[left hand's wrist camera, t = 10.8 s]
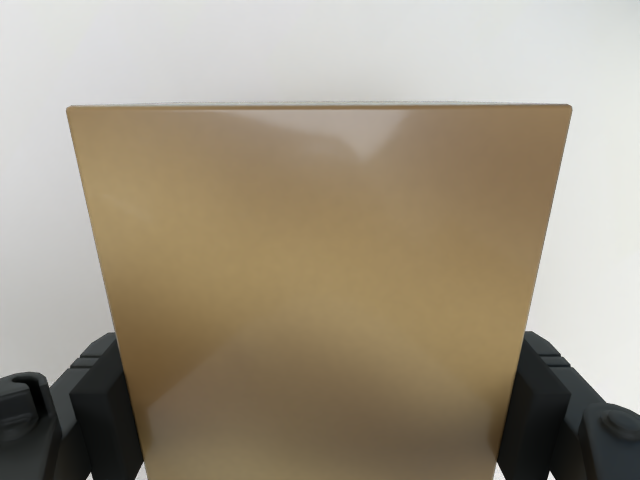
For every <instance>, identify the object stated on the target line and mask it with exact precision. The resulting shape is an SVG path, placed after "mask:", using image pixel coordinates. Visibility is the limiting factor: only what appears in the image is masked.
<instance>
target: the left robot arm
mask: <svg viewBox="0 0 640 480" xmlns="http://www.w3.org/2000/svg"><path fill="white" fill-rule="evenodd" d="M143 461H144V460H143V455H142V451H141V446H140V442H139V437H138V433H137V428H136V424H135V419H134V415H133V410H132V406H131V401H130V397H129V392H128V388H127V383H126V379H125V374H124V370H123V366H122V361H121V357H120V352H119V348H118V343H117V339H116V334H115V333H107V334H106V335H104V336H102V337H101V338H99V339H98V340H96V341H94V342H93V343H91V344H90V345H89V347H88V348H87V349H86V350H85V351H84V352H83V353H82V354H81V355H80V358H77V359H76V360H75V361H74V363H73V364H72V365H71V366H70V369H67V370H66V371H65V372H64V373H63V374H62V375H61V376H60V377H59V379H58V380H57V381H56V382H55V383H54V384H53V385H52V386H51V387H50V388H49V386H48V383H47V379H46V377H45V376H43V375H42V374H40V373H35V372H24V373H17V374H13V375H9V376H6V377H3V378H0V480H86V479H87V477H88V475H89V474H90V472H91V474H92V477H93V480H135V478H136V476H137V474H138V472H139V470H140V468H141V465H142V463H143ZM497 463H498V465H499V467H500V469H501V471H502V473H503V475H504V477H505V479H506V480H547V478H548V475H549V471H551V473H552V475H553V476H554V478H555V479H556V480H640V415H638V414H636V413H635V412H633V411H631V410H629V409H626V408H624V407H621V406H618V405H615V404H610V403H606V402H605V401H604V400H603V399H602V398H601V397H600V395H599V394H598V393H597V392H596V391H595V390H594V389H593V388H592V387H591V386H590V385H589V384H588V383H587V382H586V381H585V380H584V378H583V377H582V376H581V375H580V374H579V373H578V372H577V371H576V370H575V369H574V368H573V367H571V366H570V364H569V363H568V362H567V360H566V359H565V358H564V357H561V354H560V353H559V352H558V351H557V350H556V349H555V348H554V347H553V346H552V345H551V344H550V342H548V341H547V340H545V339H543V338H542V337H540V336H539V335H537V334H535V333H534V332H532V331H525V333H524V338H523V342H522V347H521V352H520V356H519V361H518V365H517V370H516V375H515V379H514V384H513V389H512V393H511V398H510V403H509V407H508V412H507V417H506V421H505V426H504V431H503V435H502V440H501V444H500V449H499V454H498V458H497Z"/></svg>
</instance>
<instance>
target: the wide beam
mask: <svg viewBox="0 0 640 480" xmlns="http://www.w3.org/2000/svg"><path fill="white" fill-rule="evenodd" d="M66 114H67V118H68V123H69V127H70V132H71V136H72V141H73V145H74V150H75V154H76V159H77V163H78V168H79V172H80V177H81V181H82V186H83V190H84V195H85V199H86V204H87V208H88V213H89V217H90V222H91V226H92V231H93V235H94V240H95V244H96V249H97V253H98V258H99V262H100V267H101V271H102V276H103V280H104V285H105V289H106V294H107V298H108V303H109V307H110V312H111V316H112V321H113V325H114V330H115V334H116V339H117V343H118V348H119V352H120V357H121V361H122V366H123V370H124V374H125V379H126V383H127V388H128V392H129V397H130V401H131V406H132V410H133V415H134V419H135V424H136V428H137V433H138V437H139V442H140V446H141V451H142V455H143V460H144V464H145V469H146V473H147V478H148V480H493V477H494V472H495V468H496V463H497V458H498V454H499V449H500V444H501V440H502V435H503V431H504V426H505V421H506V417H507V412H508V407H509V403H510V398H511V393H512V389H513V384H514V379H515V375H516V370H517V365H518V361H519V356H520V352H521V347H522V342H523V338H524V333H525V328H526V324H527V319H528V314H529V310H530V305H531V300H532V296H533V291H534V287H535V282H536V277H537V273H538V268H539V263H540V259H541V254H542V249H543V245H544V240H545V235H546V231H547V226H548V221H549V217H550V212H551V208H552V203H553V198H554V194H555V189H556V184H557V180H558V175H559V170H560V166H561V161H562V156H563V152H564V147H565V143H566V138H567V133H568V129H569V124H570V119H571V115H572V106H570V105H568V104H544V103H497V102H450V101H432V102H182V103H145V104H108V105H71V106H69V107H67V108H66Z"/></svg>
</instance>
